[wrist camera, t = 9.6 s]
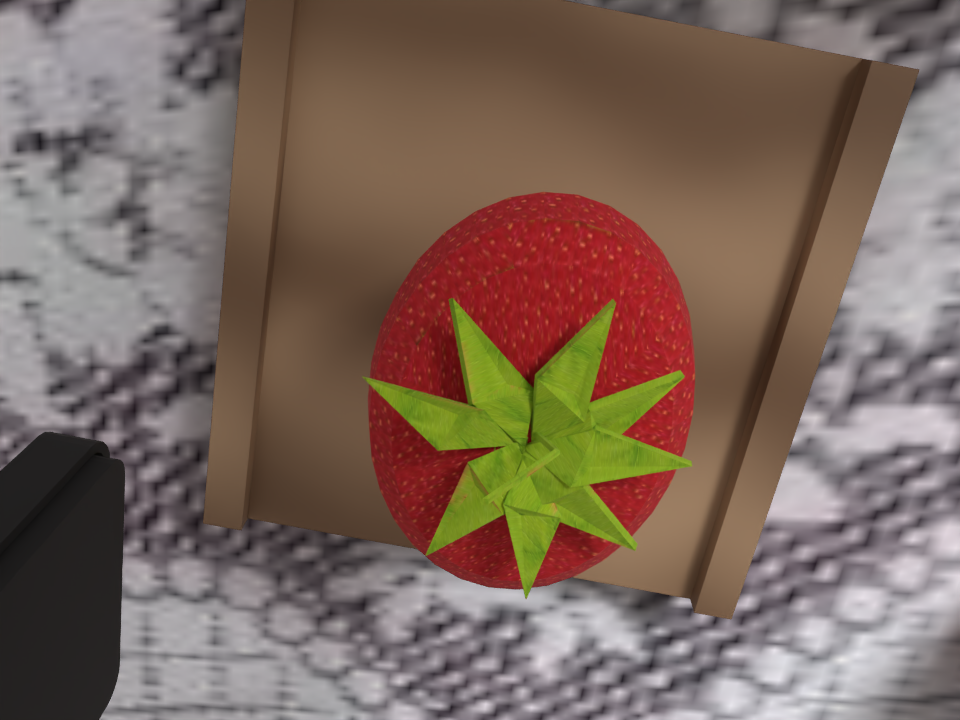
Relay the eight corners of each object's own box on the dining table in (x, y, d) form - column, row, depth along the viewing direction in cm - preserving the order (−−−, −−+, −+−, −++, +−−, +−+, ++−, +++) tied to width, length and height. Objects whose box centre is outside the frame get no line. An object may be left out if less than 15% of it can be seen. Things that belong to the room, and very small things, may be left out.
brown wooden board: (282, -54, 21) (251, -62, 19) (874, 62, 21) (919, 69, 19) (232, 475, 26) (202, 523, 24) (712, 563, 27) (731, 619, 24)
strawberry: (375, 424, 23) (287, 706, 14) (430, 122, 20) (367, 216, 11) (604, 469, 23) (671, 775, 14) (687, 177, 21) (839, 315, 11)
